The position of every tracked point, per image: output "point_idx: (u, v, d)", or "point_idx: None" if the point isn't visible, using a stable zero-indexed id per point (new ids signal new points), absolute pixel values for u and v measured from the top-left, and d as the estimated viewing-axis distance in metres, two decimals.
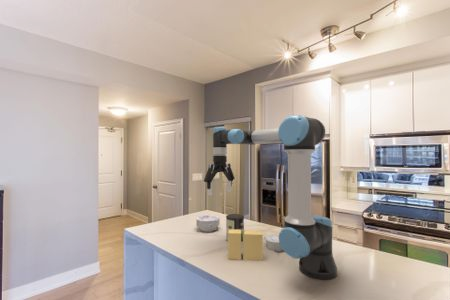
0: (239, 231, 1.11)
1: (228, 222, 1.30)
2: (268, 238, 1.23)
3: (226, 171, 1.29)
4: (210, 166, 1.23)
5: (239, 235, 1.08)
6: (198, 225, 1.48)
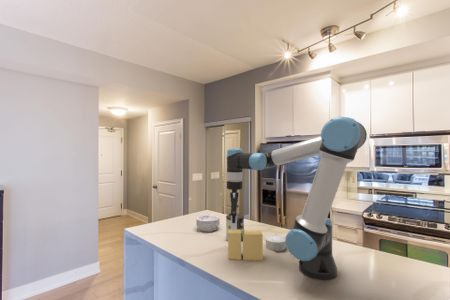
0: (239, 231, 1.11)
1: (228, 222, 1.30)
2: (268, 238, 1.23)
3: None
4: (234, 195, 1.04)
5: (239, 235, 1.08)
6: (198, 225, 1.48)
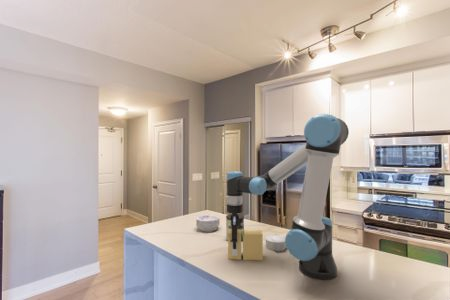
0: (239, 231, 1.11)
1: (228, 222, 1.30)
2: (268, 238, 1.23)
3: None
4: (235, 223, 1.05)
5: (239, 235, 1.08)
6: (198, 225, 1.48)
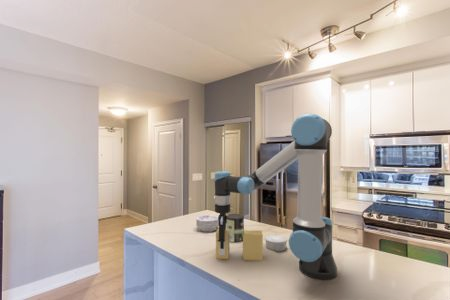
0: (227, 231, 1.11)
1: (228, 222, 1.30)
2: (268, 238, 1.23)
3: None
4: (222, 223, 1.05)
5: (227, 235, 1.08)
6: (198, 225, 1.48)
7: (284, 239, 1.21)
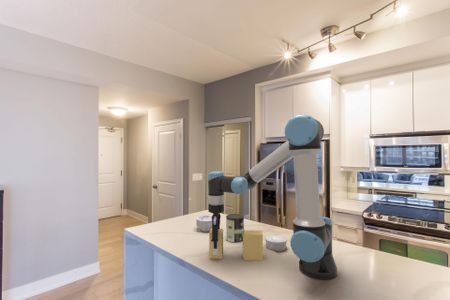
0: (220, 231, 1.11)
1: (228, 222, 1.30)
2: (268, 238, 1.23)
3: None
4: (215, 223, 1.05)
5: (220, 235, 1.09)
6: (198, 225, 1.48)
7: (284, 239, 1.21)
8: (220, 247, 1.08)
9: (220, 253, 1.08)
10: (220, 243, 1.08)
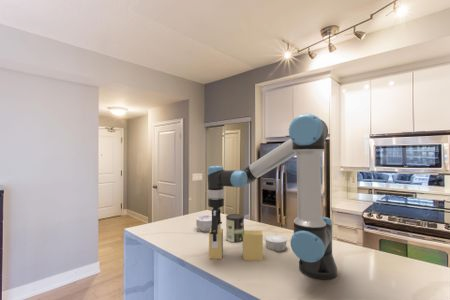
0: (220, 231, 1.11)
1: (228, 222, 1.30)
2: (268, 238, 1.23)
3: None
4: (215, 214, 1.05)
5: (220, 235, 1.09)
6: (198, 225, 1.48)
7: (284, 239, 1.21)
8: (220, 247, 1.08)
9: (220, 253, 1.08)
10: (220, 243, 1.09)
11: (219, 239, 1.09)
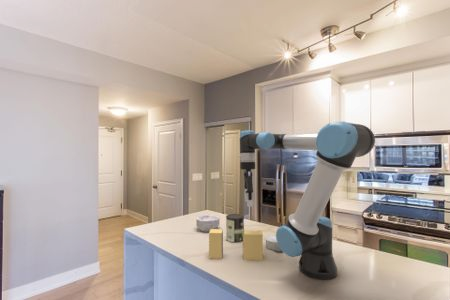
0: (220, 231, 1.11)
1: (228, 222, 1.30)
2: (268, 238, 1.23)
3: None
4: (250, 174, 1.10)
5: (220, 235, 1.09)
6: (198, 225, 1.48)
7: None
8: (220, 247, 1.08)
9: (220, 253, 1.08)
10: (220, 243, 1.09)
11: (219, 239, 1.09)
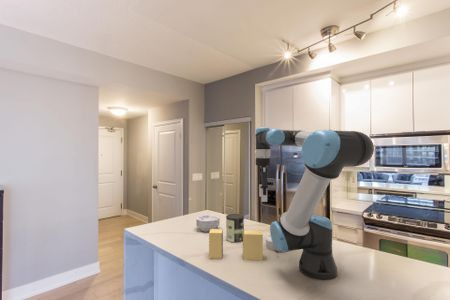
0: (220, 231, 1.11)
1: (228, 222, 1.30)
2: (268, 238, 1.23)
3: None
4: (265, 170, 1.13)
5: (220, 235, 1.09)
6: (198, 225, 1.48)
7: None
8: (220, 247, 1.08)
9: (220, 253, 1.08)
10: (220, 243, 1.09)
11: (219, 239, 1.09)
